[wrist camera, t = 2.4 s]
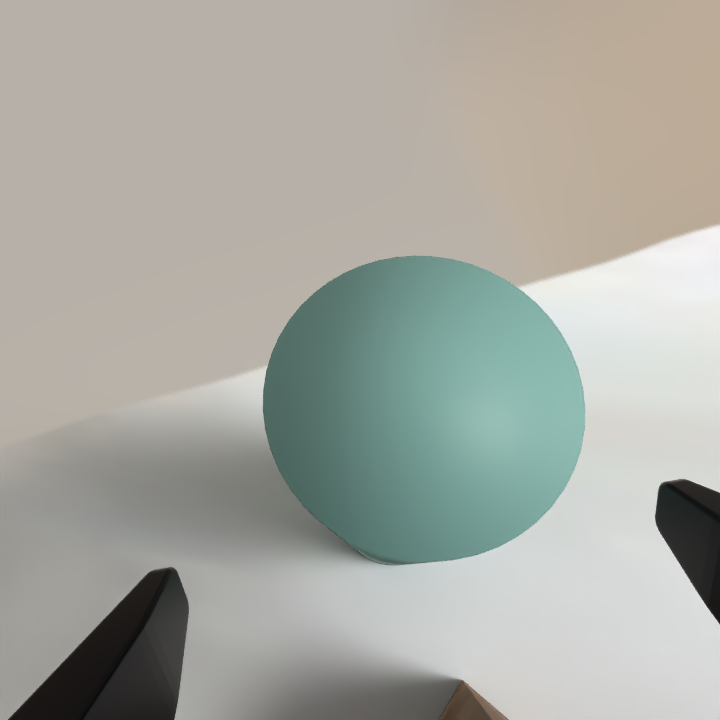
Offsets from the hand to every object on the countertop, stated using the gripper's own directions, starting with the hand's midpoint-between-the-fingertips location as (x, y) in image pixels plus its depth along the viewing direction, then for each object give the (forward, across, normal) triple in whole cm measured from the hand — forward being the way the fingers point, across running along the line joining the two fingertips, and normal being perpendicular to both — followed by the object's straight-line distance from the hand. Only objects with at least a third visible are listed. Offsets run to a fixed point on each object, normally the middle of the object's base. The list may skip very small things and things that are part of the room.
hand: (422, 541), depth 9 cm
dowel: (+8, 0, +5) cm, 9 cm away
